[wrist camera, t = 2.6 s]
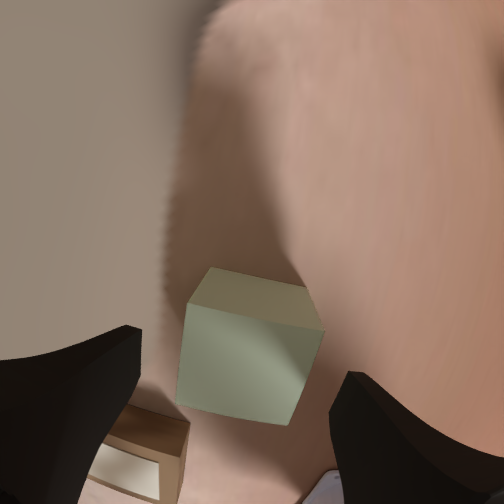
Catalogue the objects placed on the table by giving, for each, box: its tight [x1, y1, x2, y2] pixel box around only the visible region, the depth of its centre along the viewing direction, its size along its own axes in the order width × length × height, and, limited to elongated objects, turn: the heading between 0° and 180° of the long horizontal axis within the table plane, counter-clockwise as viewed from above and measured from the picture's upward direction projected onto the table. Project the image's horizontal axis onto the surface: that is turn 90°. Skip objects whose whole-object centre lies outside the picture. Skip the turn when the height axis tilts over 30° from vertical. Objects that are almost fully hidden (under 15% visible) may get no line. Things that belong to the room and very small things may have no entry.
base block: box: [87, 404, 190, 504], centre depth 15 cm, size 8×8×3 cm
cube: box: [175, 267, 325, 426], centre depth 12 cm, size 4×4×4 cm
